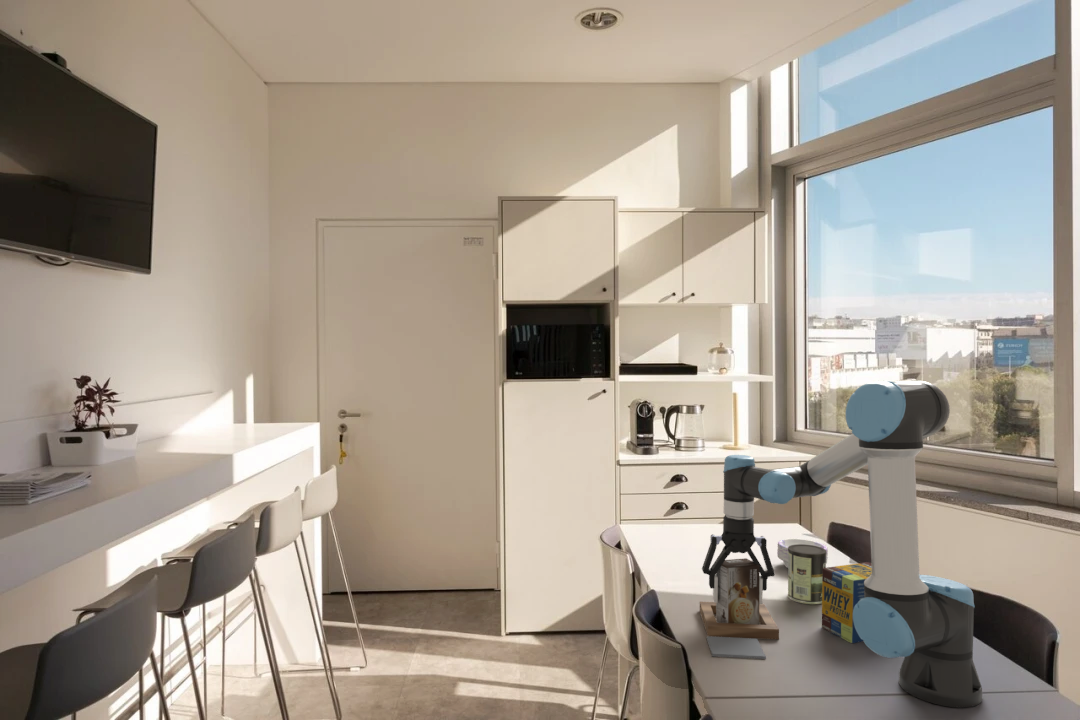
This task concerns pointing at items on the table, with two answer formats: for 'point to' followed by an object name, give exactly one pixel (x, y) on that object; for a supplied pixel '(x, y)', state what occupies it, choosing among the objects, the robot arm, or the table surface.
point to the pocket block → (715, 629)
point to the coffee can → (805, 573)
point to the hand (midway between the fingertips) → (737, 601)
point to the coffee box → (738, 592)
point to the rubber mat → (735, 647)
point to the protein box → (843, 598)
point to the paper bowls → (786, 543)
